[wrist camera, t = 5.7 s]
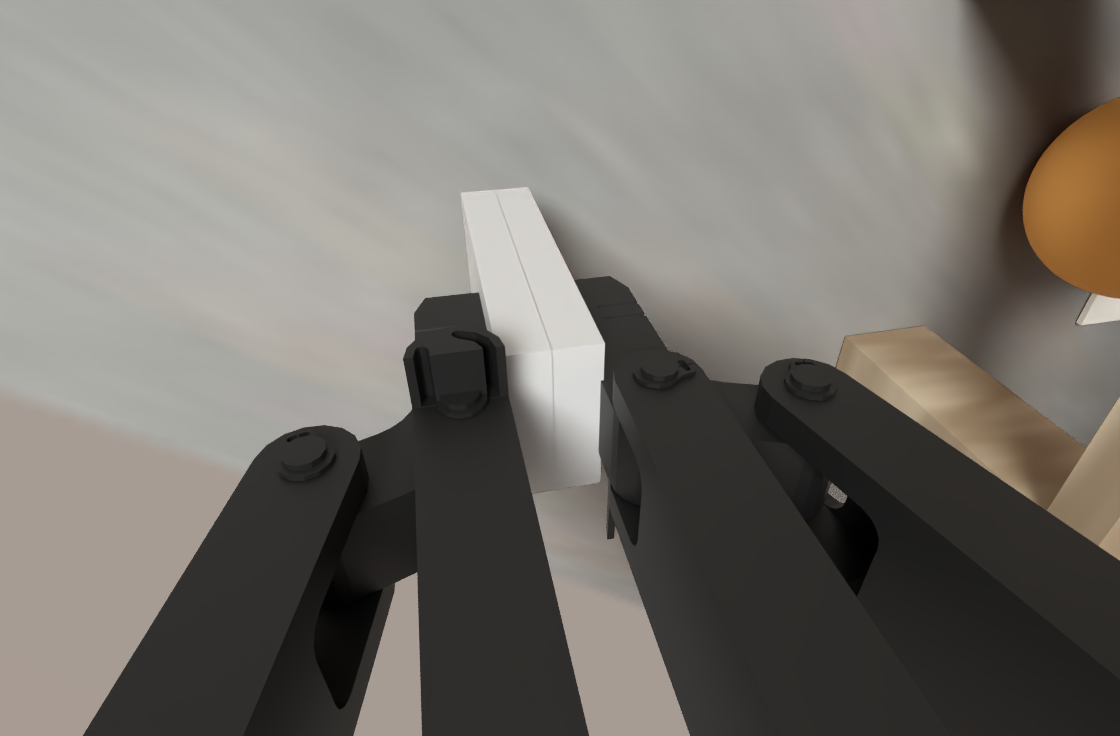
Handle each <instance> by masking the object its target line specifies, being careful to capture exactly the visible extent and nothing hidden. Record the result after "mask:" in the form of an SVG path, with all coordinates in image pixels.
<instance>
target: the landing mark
mask: <svg viewBox="0 0 1120 736" xmlns="http://www.w3.org/2000/svg"><path fill="white" fill-rule="evenodd" d="M1116 320H1120V299H1117V298H1110V297H1106V296H1101V295H1097V294H1093V293H1092V294H1091V296H1090V298H1089V300H1088V302H1087V303H1086V305H1085V307H1084V309H1083V311H1082V313H1081V314H1080V316H1079V318H1078V320H1077V322H1076V323H1078V324H1079V325H1087V324H1095V323H1102V322H1109V321H1116Z"/></svg>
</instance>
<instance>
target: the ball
mask: <svg viewBox="0 0 1120 736" xmlns="http://www.w3.org/2000/svg"><path fill="white" fill-rule="evenodd" d="M1023 222H1024V227H1025V232H1026V235H1027V238H1028V240H1029V243H1030V245H1031V247H1032V248H1033V250H1034V252H1035V253H1036V255H1037V256H1038V257H1039V259H1040V260H1041V261H1042V262H1043V263H1044V265H1045V266H1046V267H1047V268H1048V269H1050V270H1051V271H1052V272H1053V273H1054V274H1055V275H1057V276H1058V277H1060V278H1061V279H1063V280H1064V281H1066V282H1067V283H1069V284H1071V285H1073V286H1075V287H1078V288H1080V289H1082V290H1085V291H1088V292H1091V293H1093V294H1097V295H1101V296H1106V297H1110V298H1117V299H1120V97H1118V98H1115V99H1113V100H1111V101H1109V102H1107V103H1105V104H1103V105H1100V106H1098V107H1097V108H1095V109H1093V110H1092V111H1090V112H1088V113H1087V114H1085V115H1083V116H1082V117H1081V118H1079V119H1078V120H1077V121H1075V122H1074V123H1073V124H1071V125H1070V126H1069V127H1068V128H1067V129H1065V130H1064V131H1063V132H1062V133H1061V134H1060V135H1059V136H1058V137H1057V138H1056V139H1055V140H1054V141H1053V142H1052V143H1051V145H1050V146H1049V147H1048V148H1047V149H1046V151H1045V152H1044V153H1043V154H1042V156H1041V157H1040V159H1039V161H1038V162H1037V164H1036V166H1035V168H1034V169H1033V171H1032V173H1031V176H1030V178H1029V181H1028V184H1027V186H1026V190H1025V194H1024V201H1023Z"/></svg>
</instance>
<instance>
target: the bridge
mask: <svg viewBox="0 0 1120 736" xmlns="http://www.w3.org/2000/svg"><path fill="white" fill-rule="evenodd" d="M836 368H837V369H838V370H840V371H842V372H844V373H846V374H847V375H849V376H850V377H852V378H853V379H855V380H856V381H857V382H859V383H860V384H862V385H863V386H865V387H866V388H868V389H869V390H871V391H872V392H874V393H875V394H876V395H878V396H879V397H881V398H882V399H884V400H885V401H887V402H888V403H890V404H891V405H893V406H894V407H896V408H897V409H898V410H900V411H901V412H903V413H904V414H906V415H907V416H909V417H910V418H912V419H913V420H915V421H916V422H918V423H919V424H920V425H922V426H923V427H925V428H926V429H928V430H929V431H931V432H932V433H934V434H935V435H937V436H938V437H939V438H941V439H942V440H944V441H945V442H947V443H948V444H950V445H951V446H953V447H954V448H956V449H957V450H959V451H960V452H961V453H963V454H964V455H966V456H967V457H969V458H970V459H972V460H973V461H975V462H976V463H978V464H979V465H980V466H982V467H983V468H985V469H986V470H988V471H989V472H991V473H992V474H994V475H995V476H997V477H998V478H1000V479H1001V480H1002V481H1004V482H1005V483H1007V484H1008V485H1010V486H1011V487H1013V488H1014V489H1016V490H1017V491H1019V492H1020V493H1021V494H1023V495H1024V496H1026V497H1027V498H1029V499H1030V500H1032V501H1033V502H1035V503H1036V504H1038V505H1039V506H1041V507H1042V508H1043V509H1045V510H1046V511H1048V512H1049V513H1051V514H1052V515H1054V516H1055V517H1057V518H1058V519H1060V520H1061V521H1063V522H1064V523H1065V524H1067V525H1068V526H1070V527H1071V528H1073V529H1074V530H1076V531H1077V532H1079V533H1080V534H1082V535H1083V536H1084V537H1086V538H1087V539H1089V540H1090V541H1092V542H1093V543H1095V544H1096V545H1098V546H1099V547H1101V548H1102V549H1104V550H1105V551H1106V552H1108V553H1109V554H1111V555H1112V556H1114V557H1115V558H1117V559H1118V560H1120V397H1119V399H1118V400H1117V402H1116V403H1115V405H1114V406H1113V408H1112V410H1111V411H1110V413H1109V414H1108V416H1107V417H1106V419H1105V421H1104V422H1103V424H1102V425H1101V427H1100V428H1099V430H1098V431H1097V433H1096V435H1095V436H1094V438H1093V439H1092V441H1091V442H1090V444H1089V446H1088V447H1087V448H1085V447H1084V446H1083V445H1081V444H1080V443H1079V442H1078V441H1076V440H1075V439H1074V438H1072V437H1071V436H1070V435H1068V434H1067V433H1066V432H1064V431H1063V430H1062V429H1060V428H1059V427H1058V426H1056V425H1055V424H1054V423H1052V422H1051V421H1050V420H1048V419H1047V418H1046V417H1045V416H1043V415H1042V414H1041V413H1039V412H1038V411H1037V410H1035V409H1034V408H1033V407H1031V406H1030V405H1029V404H1027V403H1026V402H1025V401H1023V400H1022V399H1021V398H1019V397H1018V396H1017V395H1015V394H1014V393H1013V392H1012V391H1010V390H1009V389H1008V388H1006V387H1005V386H1004V385H1002V384H1001V383H1000V382H998V381H997V380H996V379H994V378H993V377H992V376H990V375H989V374H988V373H986V372H985V371H984V370H982V369H981V368H980V367H979V366H977V365H976V364H975V363H973V362H972V361H971V360H969V359H968V358H967V357H965V356H964V355H963V354H961V353H960V352H959V351H957V350H956V349H955V348H953V347H952V346H951V345H949V344H948V343H947V342H946V341H944V340H943V339H942V338H940V337H939V336H938V335H936V334H935V333H934V332H932V331H931V330H930V329H928V328H927V327H926V326H921V327H913V328H906V329H898V330H891V331H883V332H875V333H868V334H860V335H853V336H845V339H844V343H843V346H842V350H841V353H840V356H839V360H838V363H837V366H836Z"/></svg>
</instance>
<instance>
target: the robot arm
mask: <svg viewBox="0 0 1120 736" xmlns="http://www.w3.org/2000/svg"><path fill="white" fill-rule="evenodd" d="M461 200H462V210H463V219H464V228H465V238H466V247H467V256H468V266H469V275H470V284H471V293H469V294H460V295H450V296H441V297H432V298H425V299H424V301H423V302H422V303H421V305H420V306H419V307H418V309H417V310H416V312H415V313H414V322H415V341H414V342H413V343H412V344H410V345H409V346H408V347H407V349H406V352H405V355H404V358H403V361H404V366H405V371H406V377H407V382H408V387H409V392H410V398H411V403H412V410H411V412H410V413H409V414H408V415H407V416H406V417H405V418H404V419H403V420H402V421H401V422H399V423H398V424H396V425H395V426H393V427H392V428H390V429H388V430H386V431H383V432H381V433H379V434H377V435H374V436H371V437H369V438H366V439H363V440H360V441H358V440H357V439H356V437H355V435H353V434H352V433H350V432H348V431H346V430H345V429H343V428H339V427H332V426H326V425H322V426H314V427H305V428H301V429H299V430H296V431H293V432H290V433H287V434H284V435H282V436H281V437H279V438H278V439H276V440H275V441H273V442H271V443H270V444H268V445H267V446H266V447H265V448H264V449H263V450H262V451H261V452H260V453H259V454H258V455H257V456H256V458H255V459H254V460H253V462H252V463H251V465H250V466H249V468H248V470H247V471H246V473H245V475H244V476H243V478H242V479H241V481H240V483H239V484H238V486H237V488H236V489H235V491H234V492H233V494H232V496H231V497H230V499H229V500H228V502H227V504H226V505H225V507H224V508H223V510H222V512H221V513H220V515H219V517H218V518H217V520H216V521H215V523H214V525H213V527H212V528H211V529H210V531H209V533H208V534H207V536H206V538H205V539H204V541H203V542H202V544H201V546H200V547H199V549H198V551H197V552H196V554H195V555H194V557H193V559H192V560H191V562H190V563H189V565H188V567H187V568H186V570H185V572H184V573H183V575H182V576H181V578H180V580H179V581H178V583H177V584H176V586H175V588H174V589H173V591H172V592H171V594H170V596H169V597H168V599H167V601H166V602H165V604H164V606H163V607H162V609H161V610H160V612H159V613H158V615H157V617H156V618H155V620H154V622H153V623H152V625H151V626H150V628H149V630H148V631H147V633H146V635H145V636H144V638H143V639H142V641H141V643H140V644H139V646H138V648H137V649H136V651H135V652H134V654H133V656H132V657H131V659H130V661H129V662H128V664H127V665H126V667H125V669H124V670H123V672H122V673H121V675H120V677H119V678H118V680H117V681H116V683H115V685H114V686H113V688H112V689H111V691H110V693H109V694H108V696H107V698H106V699H105V701H104V702H103V704H102V706H101V707H100V709H99V711H98V712H97V714H96V715H95V717H94V718H93V720H92V722H91V723H90V725H89V727H88V728H87V730H86V731H85V733H84V735H83V736H353V735H354V731H355V727H356V724H357V721H358V717H359V713H360V710H361V707H362V703H363V700H364V696H365V693H366V689H367V685H368V682H369V679H370V675H371V672H372V668H373V665H374V661H375V658H376V654H377V650H378V647H379V644H380V640H381V636H382V633H383V629H384V626H385V622H386V619H387V615H388V612H389V608H390V605H391V601H392V598H393V594H394V588H395V582H397V581H400V580H401V579H404V578H406V577H408V576H410V575H412V574H414V573H416V572H417V574H418V606H419V607H418V608H419V641H420V672H421V673H420V674H421V675H420V676H421V708H422V709H421V711H422V736H589V734H588V729H587V726H586V721H585V717H584V713H583V708H582V704H581V700H580V695H579V691H578V687H577V683H576V679H575V674H574V670H573V666H572V662H571V657H570V653H569V649H568V645H567V641H566V636H565V632H564V628H563V624H562V619H561V615H560V611H559V607H558V602H557V598H556V594H555V589H554V585H553V581H552V577H551V573H550V568H549V564H548V560H547V556H546V551H545V547H544V543H543V539H542V534H541V530H540V526H539V522H538V517H537V513H536V509H535V505H534V500H533V496H532V494H533V493H539V492H545V491H551V490H558V489H564V488H570V487H576V486H582V485H588V484H594V483H600V473H601V460H602V463H603V466H604V468H605V471H606V474H607V476H608V479H609V482H608V504H607V526H606V529H607V539H613V538H614V531H615V526H616V528H617V531H618V534H619V537H620V540H621V542H622V545H623V548H624V551H625V554H626V556H627V559H628V562H629V565H630V568H631V570H632V573H633V576H634V579H635V582H636V584H637V587H638V590H639V593H640V596H641V599H642V601H643V604H644V607H645V610H646V613H647V615H648V618H649V621H650V624H651V627H652V629H653V632H654V635H655V638H656V641H657V643H658V646H659V649H660V652H661V654H662V657H663V660H664V663H665V666H666V669H667V671H668V674H669V677H670V680H671V682H672V686H673V688H674V691H675V694H676V697H677V700H678V702H679V705H680V708H681V711H682V714H683V716H684V719H685V722H686V725H687V727H688V730H689V733H690V736H1120V560H1118V559H1117V558H1115V557H1114V556H1112V555H1111V554H1109V553H1108V552H1106V551H1105V550H1104V549H1102V548H1101V547H1099V546H1098V545H1096V544H1095V543H1093V542H1092V541H1090V540H1089V539H1087V538H1086V537H1084V536H1083V535H1082V534H1080V533H1079V532H1077V531H1076V530H1074V529H1073V528H1071V527H1070V526H1068V525H1067V524H1065V523H1064V522H1063V521H1061V520H1060V519H1058V518H1057V517H1055V516H1054V515H1052V514H1051V513H1049V512H1048V511H1046V510H1045V509H1043V508H1042V507H1041V506H1039V505H1038V504H1036V503H1035V502H1033V501H1032V500H1030V499H1029V498H1027V497H1026V496H1024V495H1023V494H1021V493H1020V492H1019V491H1017V490H1016V489H1014V488H1013V487H1011V486H1010V485H1008V484H1007V483H1005V482H1004V481H1002V480H1001V479H1000V478H998V477H997V476H995V475H994V474H992V473H991V472H989V471H988V470H986V469H985V468H983V467H982V466H980V465H979V464H978V463H976V462H975V461H973V460H972V459H970V458H969V457H967V456H966V455H964V454H963V453H961V452H960V451H959V450H957V449H956V448H954V447H953V446H951V445H950V444H948V443H947V442H945V441H944V440H942V439H941V438H939V437H938V436H937V435H935V434H934V433H932V432H931V431H929V430H928V429H926V428H925V427H923V426H922V425H920V424H919V423H918V422H916V421H915V420H913V419H912V418H910V417H909V416H907V415H906V414H904V413H903V412H901V411H900V410H898V409H897V408H896V407H894V406H893V405H891V404H890V403H888V402H887V401H885V400H884V399H882V398H881V397H879V396H878V395H876V394H875V393H874V392H872V391H871V390H869V389H868V388H866V387H865V386H863V385H862V384H860V383H859V382H857V381H856V380H855V379H853V378H852V377H850V376H849V375H847V374H846V373H844V372H842V371H840V370H838V369H837V368H835V367H833V366H831V365H829V364H825V363H822V362H818V361H815V360H811V359H797V358H791V359H785V360H779V361H776V362H774V363H772V364H770V365H768V366H766V367H765V369H764V371H763V373H762V374H761V377H760V382H759V385H750V384H736V383H724V382H718V381H711V380H709V379H708V377H707V376H706V374H705V373H704V371H703V370H702V369H701V368H700V367H699V366H698V365H697V364H696V363H695V362H694V361H693V360H692V359H689V358H687V357H685V356H683V355H681V354H679V353H675V352H670V351H668V350H667V348H666V347H665V345H664V344H663V342H662V340H661V339H660V337H659V336H658V334H657V333H656V331H655V329H654V328H653V326H652V325H651V323H650V322H649V320H648V318H647V317H646V316H644V312H643V310H642V309H641V307H640V306H639V304H637V301H636V299H635V298H634V296H633V295H632V293H631V292H630V290H629V288H628V287H626V286H625V285H623V284H622V283H620V282H618V281H617V280H615V279H613V278H612V277H610V276H607V277H598V278H589V279H580V280H573V277H572V275H571V273H570V271H569V269H568V267H567V265H566V263H565V261H564V259H563V257H562V255H561V253H560V251H559V249H558V247H557V245H556V243H555V241H554V239H553V237H552V235H551V233H550V231H549V229H548V227H547V225H546V223H545V221H544V219H543V217H542V215H541V212H540V210H539V208H538V206H537V204H536V202H535V200H534V198H533V196H532V194H531V192H530V190H529V188H528V187H523V188H511V189H499V190H487V191H475V192H463V193H461ZM831 482H832V483H833V484H834V485H835V486H837V487H838V488H839V489H840V490H841V491H842V492H844V493H845V494H846V495H847V499H846V502H845V503H840V502H839V501H837V500H836V499H834V498H833V497H832V496H831V495H829V494H828V490H829V487H830V484H831Z"/></svg>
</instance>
